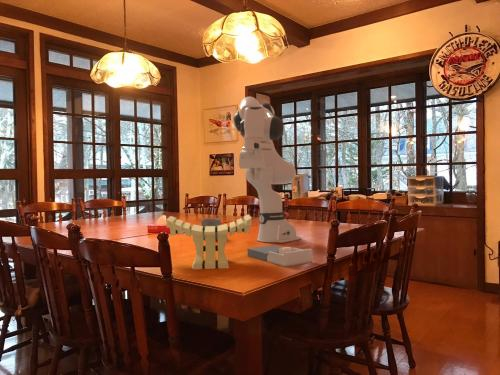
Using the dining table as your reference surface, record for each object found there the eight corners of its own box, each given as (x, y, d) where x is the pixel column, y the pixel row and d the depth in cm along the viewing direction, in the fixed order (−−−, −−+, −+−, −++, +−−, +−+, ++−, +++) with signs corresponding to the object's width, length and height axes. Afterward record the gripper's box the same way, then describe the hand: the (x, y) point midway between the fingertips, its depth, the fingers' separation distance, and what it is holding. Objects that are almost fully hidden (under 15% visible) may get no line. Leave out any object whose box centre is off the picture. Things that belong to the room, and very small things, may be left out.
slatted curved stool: (248, 258, 162) (248, 213, 161) (252, 267, 146) (251, 217, 145) (172, 260, 159) (171, 215, 159) (167, 270, 144) (166, 219, 143)
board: (273, 252, 173) (273, 245, 173) (292, 257, 162) (292, 249, 162) (247, 255, 166) (247, 248, 166) (266, 261, 155) (266, 253, 155)
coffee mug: (217, 240, 205) (217, 220, 205) (199, 240, 207) (198, 220, 207) (224, 236, 219) (224, 217, 218) (206, 235, 220) (206, 217, 220)
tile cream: (288, 246, 158) (292, 247, 156) (288, 258, 158) (292, 259, 156) (278, 248, 155) (282, 249, 153) (278, 259, 156) (283, 260, 154)
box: (293, 257, 162) (293, 244, 162) (312, 262, 153) (312, 248, 153) (267, 261, 155) (267, 248, 155) (285, 267, 146) (285, 253, 146)
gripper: (235, 147, 174) (235, 179, 175) (262, 144, 157) (263, 179, 158) (247, 147, 178) (247, 179, 178) (275, 144, 161) (276, 179, 161)
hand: (255, 179), depth 168 cm, fingers closed
